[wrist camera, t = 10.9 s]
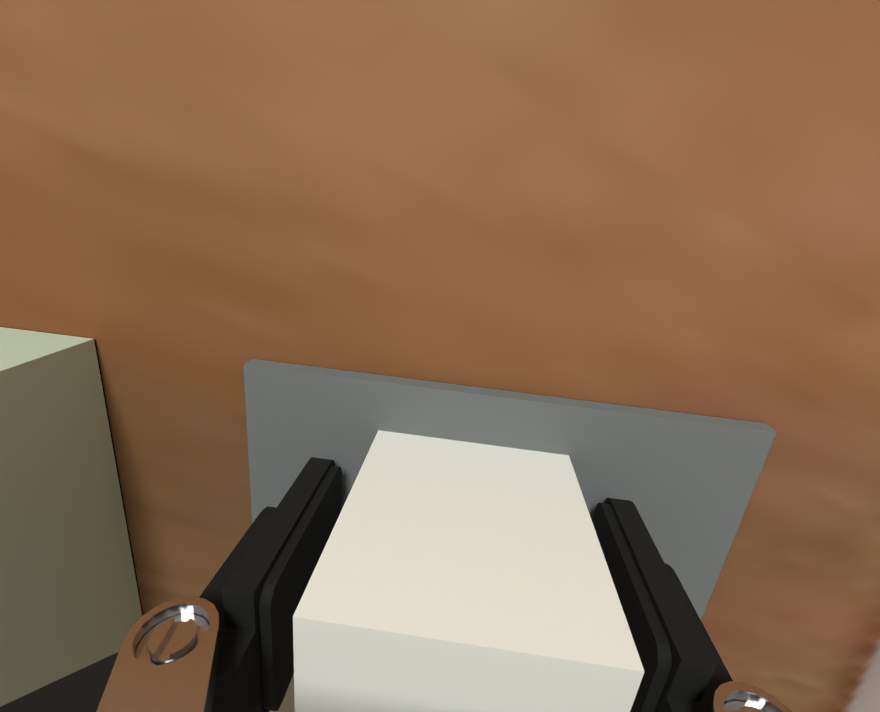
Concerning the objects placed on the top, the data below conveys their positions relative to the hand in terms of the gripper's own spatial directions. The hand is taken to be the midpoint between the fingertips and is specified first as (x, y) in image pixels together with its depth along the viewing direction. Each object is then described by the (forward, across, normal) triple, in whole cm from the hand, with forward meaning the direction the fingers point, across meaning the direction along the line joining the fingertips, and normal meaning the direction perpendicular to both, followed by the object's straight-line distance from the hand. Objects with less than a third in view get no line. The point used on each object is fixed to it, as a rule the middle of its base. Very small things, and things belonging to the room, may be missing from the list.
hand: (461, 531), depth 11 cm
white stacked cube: (0, 0, 0) cm, 0 cm away
